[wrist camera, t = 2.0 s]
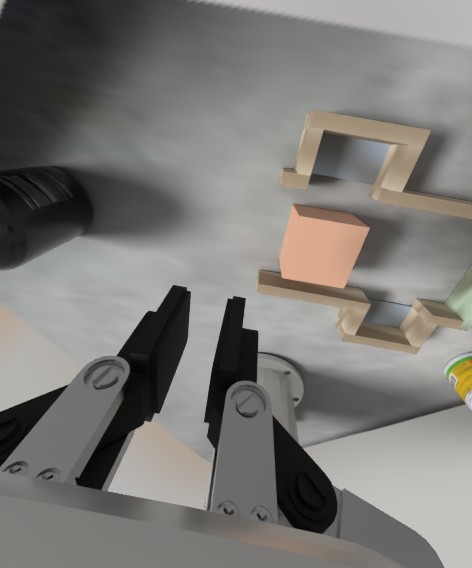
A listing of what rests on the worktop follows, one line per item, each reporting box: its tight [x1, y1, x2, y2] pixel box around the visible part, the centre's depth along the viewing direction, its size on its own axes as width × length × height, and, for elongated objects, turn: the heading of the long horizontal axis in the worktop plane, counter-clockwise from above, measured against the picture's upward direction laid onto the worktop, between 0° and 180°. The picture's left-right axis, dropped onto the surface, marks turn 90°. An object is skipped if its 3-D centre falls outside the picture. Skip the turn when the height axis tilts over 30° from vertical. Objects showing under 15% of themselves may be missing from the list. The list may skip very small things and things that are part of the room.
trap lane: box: [256, 110, 472, 354], centre depth 22 cm, size 19×21×3 cm
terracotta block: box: [279, 204, 370, 289], centre depth 22 cm, size 6×6×4 cm
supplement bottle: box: [0, 166, 92, 271], centre depth 19 cm, size 7×7×12 cm
